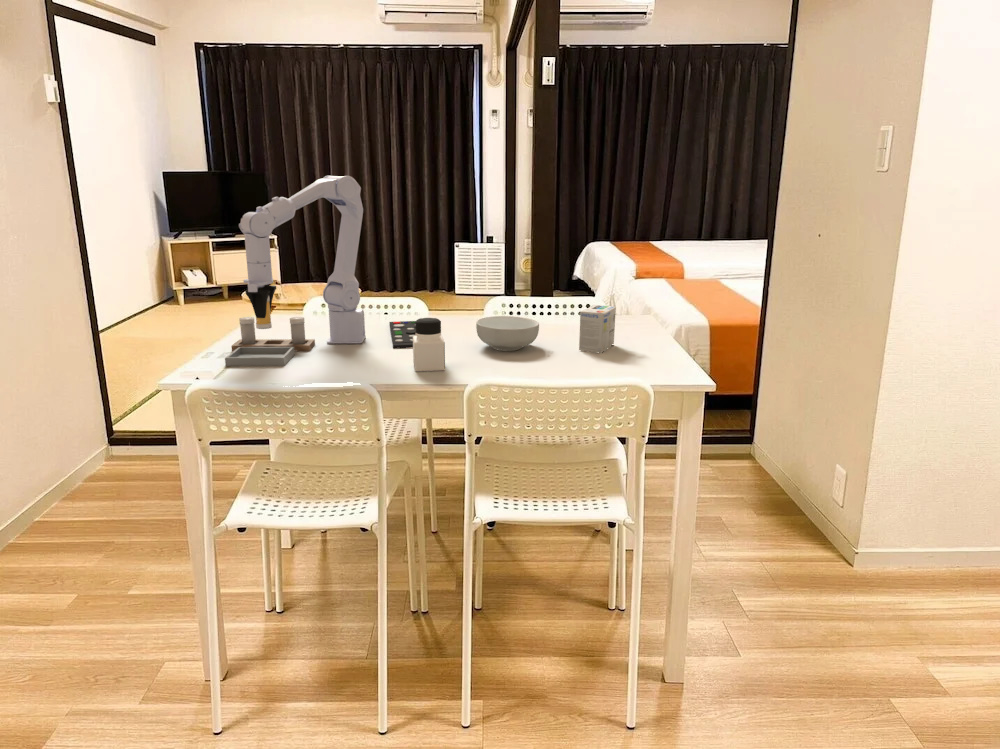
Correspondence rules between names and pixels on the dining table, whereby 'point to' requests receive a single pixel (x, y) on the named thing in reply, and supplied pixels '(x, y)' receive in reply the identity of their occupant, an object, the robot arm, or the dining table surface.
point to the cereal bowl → (507, 332)
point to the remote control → (402, 333)
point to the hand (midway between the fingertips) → (263, 316)
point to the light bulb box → (597, 328)
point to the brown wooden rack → (277, 344)
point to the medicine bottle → (428, 345)
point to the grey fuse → (297, 330)
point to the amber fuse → (265, 319)
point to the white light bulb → (247, 330)
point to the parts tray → (260, 356)
